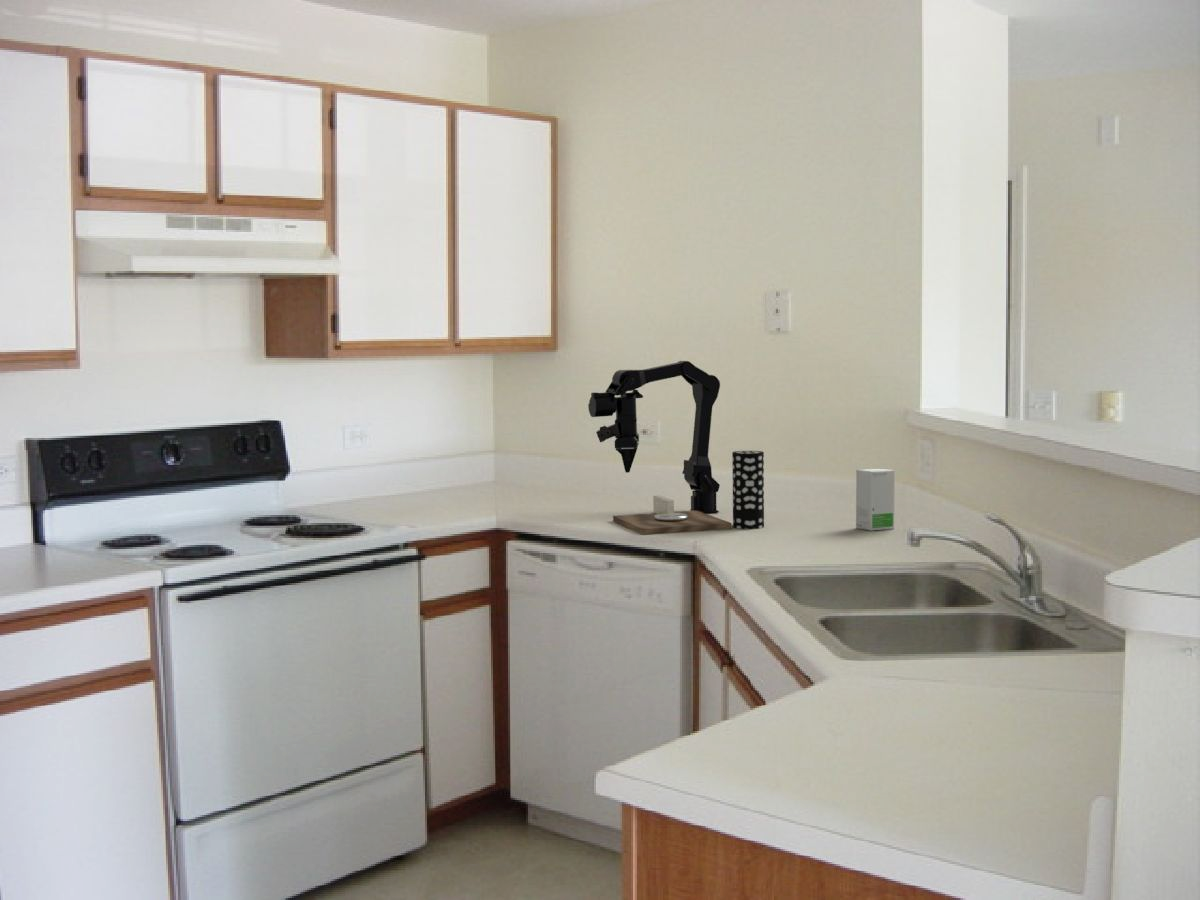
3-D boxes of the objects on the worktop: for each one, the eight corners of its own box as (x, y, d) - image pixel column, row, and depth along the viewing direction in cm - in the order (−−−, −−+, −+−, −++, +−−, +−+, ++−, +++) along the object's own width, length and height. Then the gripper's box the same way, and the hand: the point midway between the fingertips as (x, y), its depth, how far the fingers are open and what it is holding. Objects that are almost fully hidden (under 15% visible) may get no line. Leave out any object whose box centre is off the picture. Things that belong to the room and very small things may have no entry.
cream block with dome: (692, 519, 353) (692, 501, 353) (661, 521, 351) (660, 503, 350) (671, 511, 369) (671, 494, 368) (641, 513, 366) (641, 496, 365)
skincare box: (870, 531, 340) (870, 471, 338) (854, 528, 346) (854, 469, 344) (895, 528, 344) (895, 469, 342) (879, 525, 350) (879, 467, 348)
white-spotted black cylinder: (746, 523, 357) (745, 450, 355) (770, 526, 351) (770, 451, 349) (726, 526, 351) (725, 452, 349) (750, 530, 346) (750, 454, 344)
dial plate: (697, 515, 372) (696, 510, 372) (731, 528, 348) (731, 522, 348) (613, 521, 365) (613, 515, 365) (642, 534, 341) (642, 528, 341)
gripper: (599, 413, 377) (601, 467, 378) (595, 418, 358) (597, 475, 360) (638, 412, 376) (639, 466, 378) (636, 417, 357) (638, 474, 359)
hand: (628, 470), depth 368 cm, fingers open, 9 cm apart
